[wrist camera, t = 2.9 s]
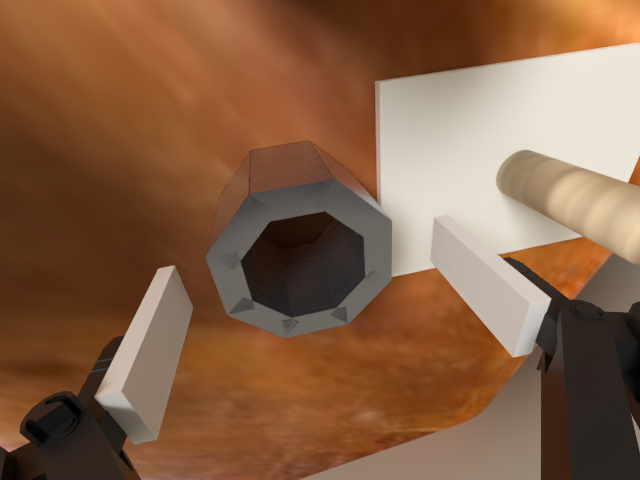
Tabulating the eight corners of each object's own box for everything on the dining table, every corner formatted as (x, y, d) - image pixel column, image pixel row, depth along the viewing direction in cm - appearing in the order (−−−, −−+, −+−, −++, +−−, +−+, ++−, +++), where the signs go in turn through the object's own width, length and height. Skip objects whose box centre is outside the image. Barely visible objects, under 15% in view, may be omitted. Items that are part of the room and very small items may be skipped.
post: (492, 197, 22) (615, 269, 15) (500, 154, 21) (645, 209, 13) (532, 189, 23) (673, 256, 15) (544, 146, 21) (709, 196, 13)
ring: (243, 272, 23) (239, 348, 17) (207, 157, 18) (185, 205, 12) (356, 249, 23) (391, 314, 18) (349, 134, 19) (392, 168, 13)
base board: (378, 273, 25) (381, 279, 24) (374, 81, 18) (379, 81, 17) (597, 227, 27) (606, 231, 26) (676, 36, 20) (691, 35, 19)
